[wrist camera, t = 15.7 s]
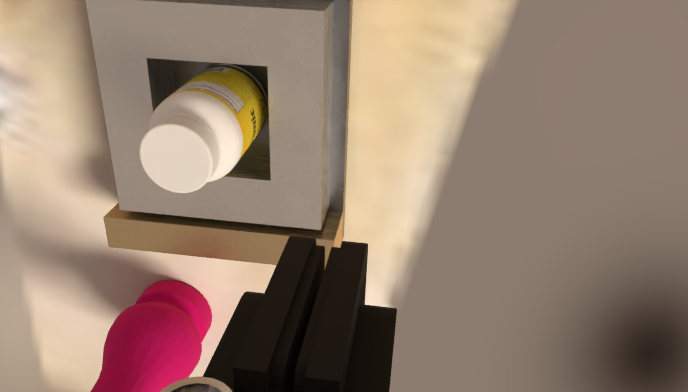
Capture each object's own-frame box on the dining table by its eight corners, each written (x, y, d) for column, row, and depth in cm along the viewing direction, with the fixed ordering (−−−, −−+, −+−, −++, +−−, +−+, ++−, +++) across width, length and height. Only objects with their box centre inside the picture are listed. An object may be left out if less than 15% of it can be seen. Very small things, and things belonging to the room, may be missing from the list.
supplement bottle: (247, 154, 40) (196, 223, 32) (179, 110, 40) (108, 169, 31) (285, 92, 38) (242, 149, 29) (214, 45, 37) (148, 89, 29)
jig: (99, -66, 36) (53, -60, 32) (354, -54, 34) (342, -47, 30) (141, 215, 45) (109, 249, 41) (343, 235, 44) (333, 273, 39)
